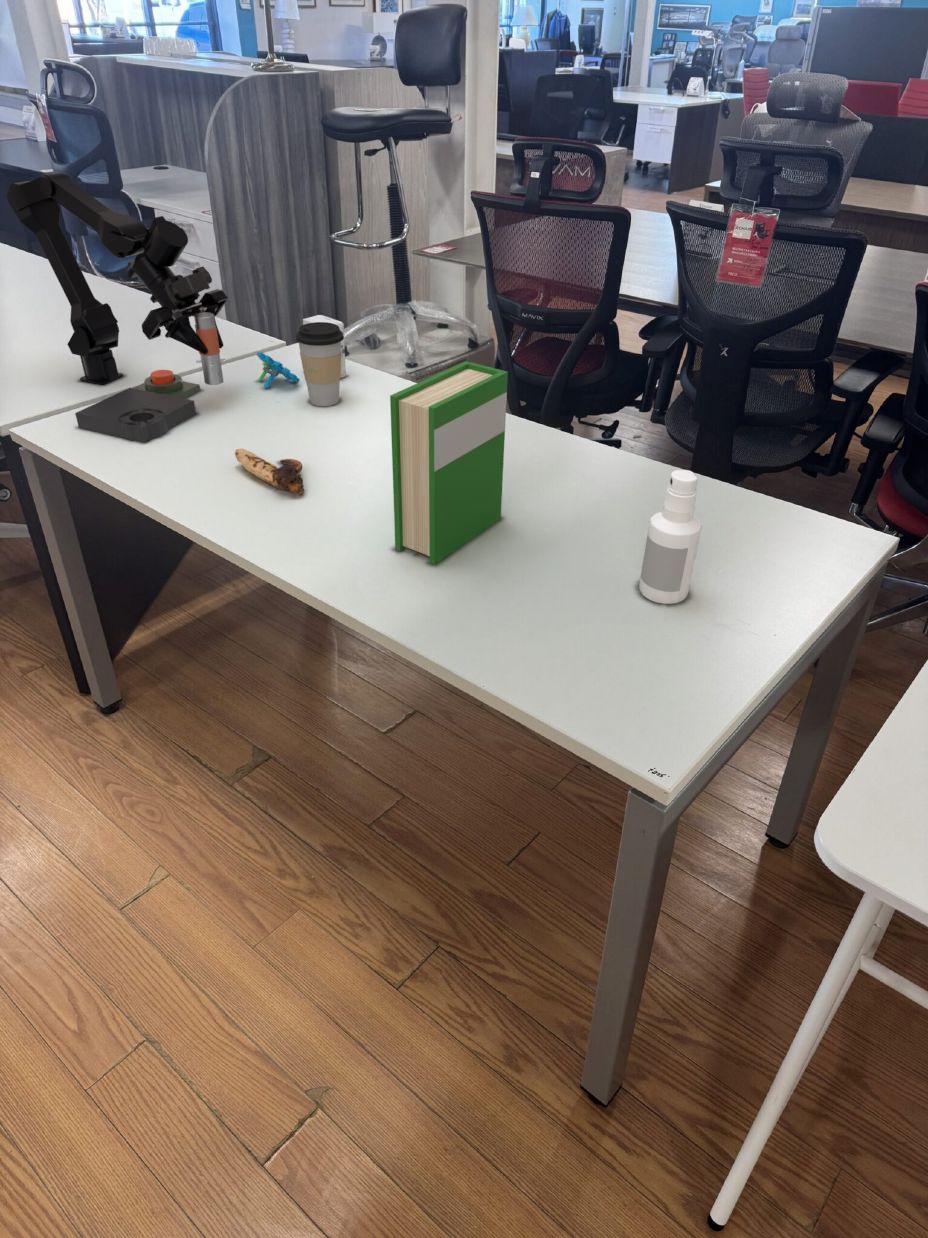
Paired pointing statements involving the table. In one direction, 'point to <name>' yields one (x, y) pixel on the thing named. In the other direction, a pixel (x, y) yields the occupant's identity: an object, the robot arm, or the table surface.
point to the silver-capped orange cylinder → (209, 348)
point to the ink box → (341, 326)
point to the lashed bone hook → (273, 471)
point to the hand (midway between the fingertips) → (214, 350)
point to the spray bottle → (672, 543)
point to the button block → (170, 387)
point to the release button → (162, 376)
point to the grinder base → (136, 414)
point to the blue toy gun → (274, 370)
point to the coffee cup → (321, 361)
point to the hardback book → (448, 458)
